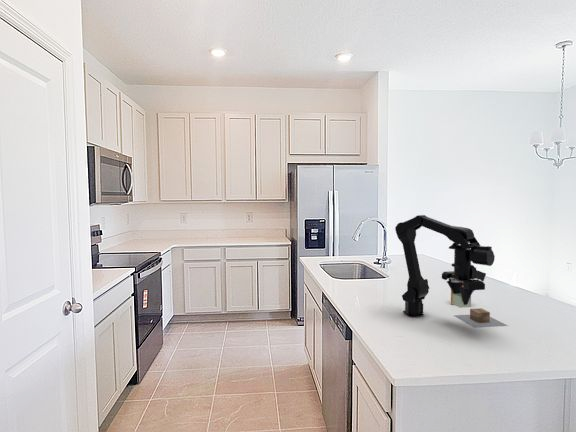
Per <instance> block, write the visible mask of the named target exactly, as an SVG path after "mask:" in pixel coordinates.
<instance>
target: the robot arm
mask: <svg viewBox="0 0 576 432" xmlns="http://www.w3.org/2000/svg"><path fill="white" fill-rule="evenodd" d="M422 227H423V228H426V229H428V230H430V231H433V232H436V233H439V234H441V235H443V236H445V237H446V238H448V240H449V241H451V242H453V243H452V244H451V245H450V246H449V247H448V249H450V250H454V251H453V252H454V254H453V258H454V260H453V262H454V263H451V267H453V271H452V270H451V271H442V273H441V279H442V280H444V281H446V283H447V284H448V286H449V288H450V291H451V290H452V292H453V294H458V293H461V296H462V300H463V303H464V305H467V304H468V301H469V299H470V297H471V298H472V295H473V293H474V292H475V291H484V290H486V283H485V282H484V281H485V279H486V275H487V273H485V272H484V271H483V272H482V271H480V270H477V267H475V266H474V265H473V264H476V265H481V266H488V267H492V266H493V264H494V262H495V258H496V257H495V253H494V251H493V249H492V246H491V245H490V246H489V245H488V246H485V245H481V244H480V243H479V241H478V240H477V238H476V237H475V233H474V230H472V229H471V228H469V227H463V226H458V225H457V226H456V225H450V224H447V223H445V222H442V221H440V220H437V219H435V218H432V217H429V216H426V215H424V214H419V215H416V216H414V217H412V218H410V219H408V220H406V221H403V222H402V221H401V222H398V223H397V224H396V226H395V228H394V229H395V233H396V237H397V239H398V240H399V241H400V242H401V244H402V249H403V252H404V257H405V264H406V268H407V273H408V280H407V284H406V285H407V286H406V287H407V290H406V291H405V292H404V293H403V294H402V295H401V297H402V301H404V310H403V311H402V312H403V313H404V314H405V315H406V316H408V317H410V318H411V317H412V318H413V317H424V316H425V314H424V303H423V300H425V299H426V297H427V295H428V294H429V290H430V285H429V281H428V279H427V278H423V276H422V273H421V269H420V263H419V258H418V254H417V248H416V243H415V241H416V238H417V237H416V236H417V231H418V230H419V229H421V228H422ZM470 279H472V280H470ZM462 285H463V286H464V287H462Z"/></svg>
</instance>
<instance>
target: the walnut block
mask: <svg viewBox="0 0 576 432" xmlns="http://www.w3.org/2000/svg"><path fill="white" fill-rule="evenodd" d="M469 315H470V319H472V320H473V321H475V322H477V323H484V322H490V317H491V312H490V311H488V310H486V309H483V308H482V307H481V308H478V307H477V308H470V309H469Z"/></svg>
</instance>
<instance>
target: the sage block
mask: <svg viewBox="0 0 576 432" xmlns="http://www.w3.org/2000/svg"><path fill="white" fill-rule="evenodd" d="M453 304H454V305H453V306H456V307H457V308H471V307H472V296H471V297H470V299H469V301H468V304H467V305H464V303H463V300H462V296H461V293H458V294H453Z"/></svg>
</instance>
